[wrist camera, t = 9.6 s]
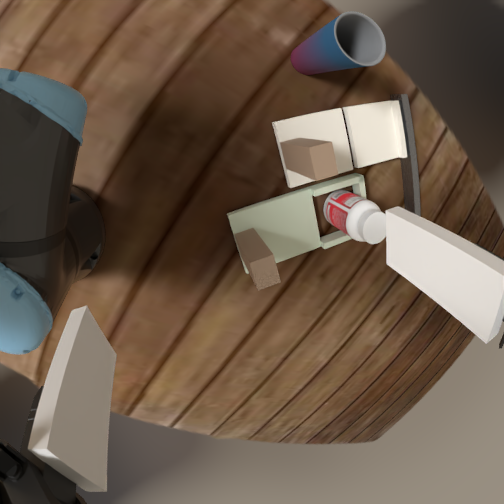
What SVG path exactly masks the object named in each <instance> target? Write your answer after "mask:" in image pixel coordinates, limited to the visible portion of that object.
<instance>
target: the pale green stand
mask: <svg viewBox="0 0 504 504" xmlns="http://www.w3.org/2000/svg"><path fill="white" fill-rule="evenodd" d="M351 185H352V187H353V193H354V194H356V195H358V196H361V197H363V198H365V199H367V198H366V190H365V183H364V176H363V175H361V174H358V173H353V174H349V175H346V176H343V177H339V178H336V179H332V180H329V181H326V182H322V183H319V184H316V185H313V186H309V187H306V188H303V189H300V190H296V191H293V192H290V193H287V194H284V195H281V196H278V197H274V198H271V199H268V200H265V201H262V202H259V203H256V204H253V205H250V206H247V207H244V208H241V209H238V210H235V211H232V212H229V213H227V216H228V219H229V222H230V225H231V229H232V232H233V235H234V238H235V241H236V244H237V247H238V251H239V254H240V257H241V260H242V263H243V266H244V269H245V272H246V274H248V273H249V274H250V276H251V278H252V280H253V282H254V283H255V285H256V287H257V289H258V290H261V289H264V288H266V287H269V286H272V285H274V284H277V283H280V282H281V281H280V277H279V273H278V270H277V266H276V263H278V262H281V261H284V260H286V259H289V258H292V257H294V256H297V255H300V254H302V253H305V252H308V251H311V250H313V249H316V248H319V247H321V246H322V247H323V248H324V249H327V248H329V247H332V246H334V245H337V244H340V243H342V242H345V241H347V240H350V239H353V238H351V237H350V236H348V235H347V234H345V233H344V232H342V231H341V230H339V231H336V232H334V233H331V234H328V235H326V236H323V237H320V236H319V230H318V225H317V219H316V214H315V209H314V204H313V199H312V195H313V196H315V197H316V196H319V195H322V194H325V193H328V192H331V191H334V190H338V189H341V188H344V187H347V186H351Z"/></svg>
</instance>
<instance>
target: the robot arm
mask: <svg viewBox="0 0 504 504" xmlns="http://www.w3.org/2000/svg"><path fill="white" fill-rule="evenodd" d="M86 114H87V103H86V101H85V99H84V97H83V96H82V95H81V94H80V93H79V92H78V91H76V90H75V89H73V88H71V87H69V86H67V85H65V84H63V83H60V82H58V81H55V80H52V79H49V78H46V77H43V76H40V75H36V74H32V73H28V72H18V71H14V70H10V69H5V68H0V351H3V352H6V353H10V354H26V353H29V352H30V351H33V350H35V349H36V348H38V347H39V346H40V344H41V343H42V341H43V340H44V338H45V337H46V335H47V334H48V333H49V331H50V330H51V328H52V323H53V321H54V319H55V317H56V315H57V313H58V311H59V309H60V307H61V305H62V303H63V301H64V299H65V297H66V295H67V293H68V291H69V289H70V287H71V285H72V284H73V283H75V282H77V281H79V280H81V279H83V278H84V277H86V276H87V275H88V274H89V273H90V272H91V271H92V270H93V269H94V267H95V266H96V264H97V263H98V261H99V259H100V257H101V255H102V252H103V249H104V245H105V226H104V221H103V218H102V215H101V213H100V211H99V209H98V207H97V206H96V204H95V203H94V201H93V200H92V199H91V198H90V197H89V196H88V195H87V194H86V193H84V192H83V191H82V190H80V189H78V188H76V187H74V186H72V182H73V177H74V171H75V166H76V160H77V156H78V151H79V146H81V145H82V142H83V139H82V132H83V128H84V123H85V118H86ZM386 242H387V265H389V266H390V267H391V268H393V269H394V270H395V271H397V272H398V273H399V274H401V275H402V276H403V277H405V278H406V279H407V280H409V281H410V282H411V283H413V284H414V285H415V286H416V287H418V288H419V289H420V290H422V291H423V292H424V293H425V294H427V295H428V296H429V297H431V298H432V299H433V300H434V301H436V302H437V303H438V304H439V305H441V306H442V307H443V308H444V309H446V310H447V311H448V312H449V313H450V314H452V315H453V316H454V317H455V318H457V319H458V320H459V321H460V322H461V323H463V324H464V325H465V326H466V327H467V328H469V329H470V330H471V331H472V332H473V333H474V334H476V335H477V336H478V337H479V338H480V339H482V340H483V341H484V342H485V343H488V342H489V341H490V340H491V339H493V338H494V337H495V336H496V335H497V334H498V332H499V329H500V326H501V323H502V321H504V259H503V258H501V257H499V256H497V255H496V256H495V254H494V253H492V252H490V251H487V249H485V248H483V247H482V246H480V245H478V244H475V243H471V242H469V241H468V240H466V239H464V238H462V237H460V236H458V235H456V234H454V233H452V232H450V231H448V230H446V229H445V228H443V227H441V226H439V225H437V224H435V223H432V222H430V221H428V220H426V219H424V218H422V217H420V216H418V215H416V214H414V213H412V212H409V211H407V210H405V209H403V208H401V207H395V208H391V209H388V210H386ZM503 344H504V334H503V336H502V339H501V341H500V344H499V348H502V346H503ZM116 356H117V355H116V353H115V352H114V350H113V348H112V347H111V345H110V344H109V342H108V341H107V339H106V337H105V336H104V334H103V332H102V331H101V329H100V328H99V326H98V324H97V322H96V321H95V319H94V317H93V316H92V314H91V312H90V310H89V309H88V307H87V306H84V307H81V308H78V309H75V310H72V312H71V314H70V316H69V319H68V321H67V324H66V326H65V329H64V331H63V334H62V336H61V339H60V341H59V344H58V347H57V349H56V352H55V355H54V358H53V360H52V363H51V366H50V369H49V372H48V375H47V378H46V381H45V384H44V386H41V388H40V389H39V391H38V392H37V394H36V395H35V397H34V400H33V403H32V407H31V411H30V414H29V417H28V419H29V421H27V425H26V429H25V432H24V437H23V441H22V445H21V450H20V453H19V452H18V451H17V450H16V449H14V448H13V447H12V446H11V445H10V444H9V443H7V442H6V441H5V440H3V439H1V438H0V504H87V503H86V502H85V500H84V499H83V498H82V497H81V496H80V495H79V494H78V493H76V485H78V486H79V487H81V488H82V489H84V490H86V491H87V492H103V491H105V492H106V491H107V449H108V447H107V446H108V431H109V417H110V406H111V396H112V387H113V378H114V370H115V363H116Z"/></svg>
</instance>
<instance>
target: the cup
mask: <svg viewBox="0 0 504 504" xmlns="http://www.w3.org/2000/svg"><path fill="white" fill-rule="evenodd" d="M385 51H386V43H385V38H384V35H383V33H382V31H381V29H380V28H379V26H378V25H377V24H376V23H375V22H374V21H373V20H372V19H371V18H370V17H368V16H366V15H364V14H362V13H359V12H345V13H343V14H341V15H340V16H338V17H337V18H335V19H334V20H332V21H331V22H330V23H328V24H327V25H325V26H324V27H323V28H321V29H320V30H319V31H317V32H316V33H314V34H313V35H312V36H310V37H309V38H308V39H306V40H305V41H304V42H303V43H301V44H300V45H299V46H297V47H296V48H295V49H294V50H293V52H292V54H291V62H292V65H293V67H294V68H295V69H296V70H297V71H298V72H300V73H302V74H305V75H313V74H318V73H324V72H330V71H336V70H343V69H350V68H358V67H366V66H373V65H376V64H378V63H379V62H380V61H381V60H382V59H383V57H384V55H385Z"/></svg>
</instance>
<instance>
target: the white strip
mask: <svg viewBox="0 0 504 504" xmlns="http://www.w3.org/2000/svg"><path fill="white" fill-rule="evenodd" d="M343 111H344V115H345V120H346V125H347V130H348V135H349V140H350V145H351V150H352V156H353V162H354V167H356V168H361V167H364V166H368V165H372V164H375V163H379V162H383V161H386V160H390V159H394V158H398V157H400V158H406V157H407V149H406V142H405V135H404V128H403V122H402V116H401V110H400V105H399V100H394V101H382V102H375V103H368V104H361V105H355V106H349V107H343Z"/></svg>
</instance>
